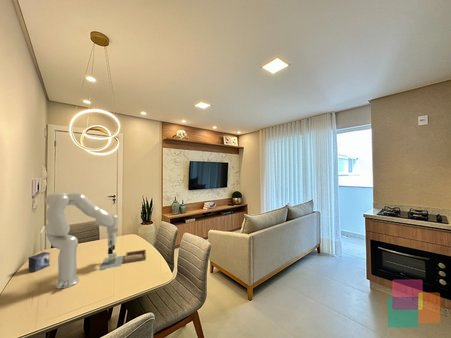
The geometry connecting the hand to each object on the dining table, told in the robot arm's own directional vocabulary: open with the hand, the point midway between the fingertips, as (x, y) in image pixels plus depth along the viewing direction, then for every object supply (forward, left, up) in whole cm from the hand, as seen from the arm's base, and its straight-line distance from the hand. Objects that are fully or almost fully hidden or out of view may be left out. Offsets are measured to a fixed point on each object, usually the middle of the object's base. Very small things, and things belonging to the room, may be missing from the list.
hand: (111, 251), depth 158 cm
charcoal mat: (+1, -1, -9) cm, 9 cm away
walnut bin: (+3, -18, -9) cm, 20 cm away
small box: (+12, +50, -9) cm, 52 cm away
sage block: (+1, -1, -9) cm, 9 cm away
